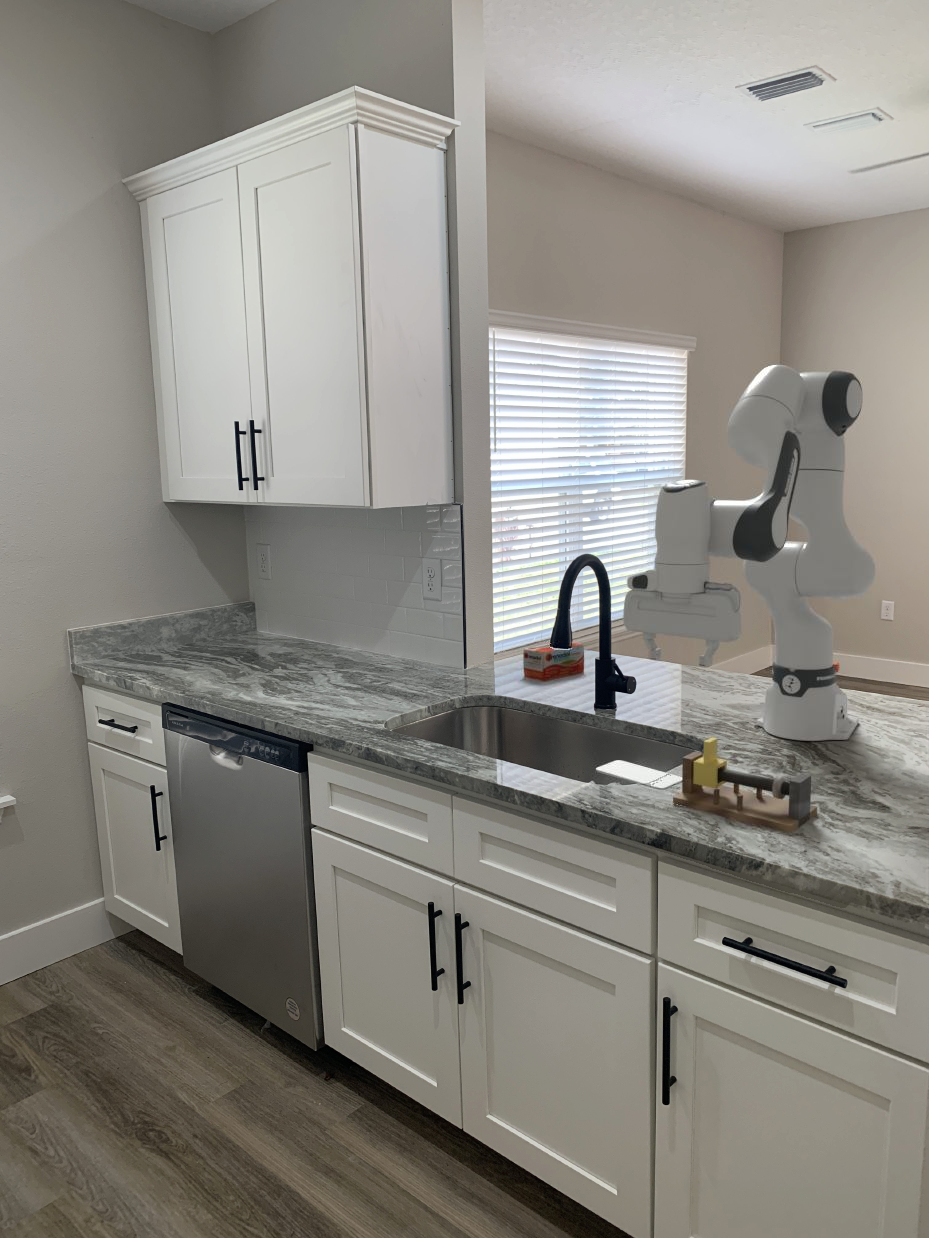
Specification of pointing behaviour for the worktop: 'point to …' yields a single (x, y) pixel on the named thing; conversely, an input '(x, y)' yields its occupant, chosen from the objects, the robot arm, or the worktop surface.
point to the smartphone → (638, 774)
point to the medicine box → (552, 662)
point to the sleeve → (709, 766)
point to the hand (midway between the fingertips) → (679, 662)
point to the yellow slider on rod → (750, 797)
